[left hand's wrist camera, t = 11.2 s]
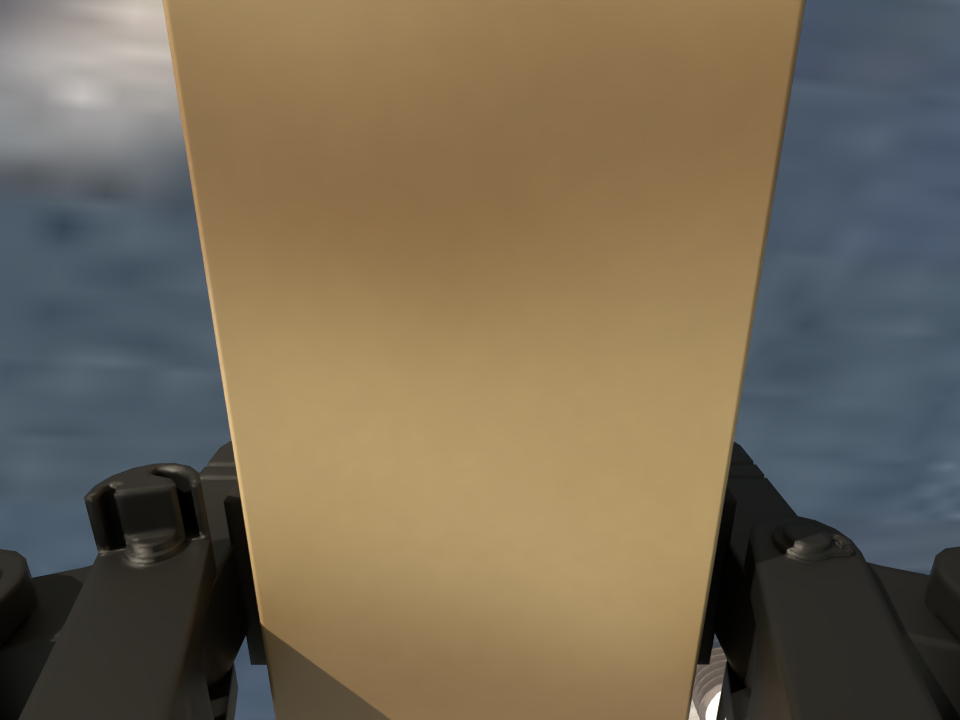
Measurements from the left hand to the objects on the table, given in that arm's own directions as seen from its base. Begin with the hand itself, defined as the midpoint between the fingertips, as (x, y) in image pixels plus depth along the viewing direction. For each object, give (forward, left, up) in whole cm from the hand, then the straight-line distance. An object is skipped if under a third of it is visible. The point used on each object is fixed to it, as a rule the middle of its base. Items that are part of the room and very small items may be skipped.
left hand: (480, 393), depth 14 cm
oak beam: (0, +11, 0) cm, 11 cm away
